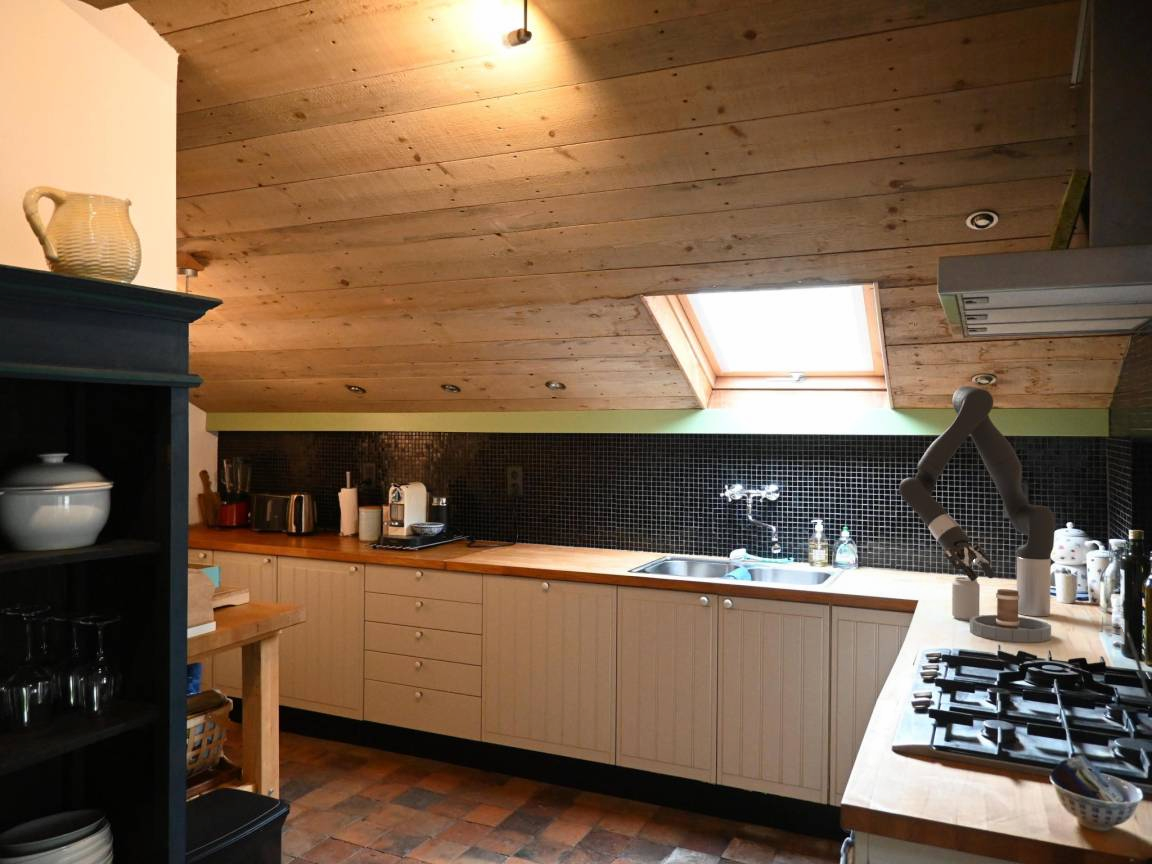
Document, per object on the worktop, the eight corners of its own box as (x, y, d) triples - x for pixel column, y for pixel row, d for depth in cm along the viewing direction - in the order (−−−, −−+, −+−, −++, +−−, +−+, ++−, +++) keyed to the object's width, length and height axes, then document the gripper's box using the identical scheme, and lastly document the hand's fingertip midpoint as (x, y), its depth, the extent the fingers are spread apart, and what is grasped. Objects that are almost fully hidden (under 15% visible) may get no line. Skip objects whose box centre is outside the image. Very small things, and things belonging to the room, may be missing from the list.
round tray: (962, 624, 259) (962, 613, 259) (1037, 628, 256) (1037, 616, 256) (979, 640, 240) (979, 628, 240) (1061, 644, 236) (1061, 632, 236)
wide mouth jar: (946, 617, 271) (946, 577, 271) (965, 615, 274) (965, 575, 274) (966, 622, 264) (966, 580, 264) (985, 620, 267) (985, 579, 267)
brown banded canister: (993, 628, 251) (993, 588, 251) (1015, 629, 250) (1016, 589, 250) (999, 632, 246) (999, 592, 246) (1021, 633, 245) (1022, 593, 245)
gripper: (941, 526, 258) (978, 572, 248) (971, 523, 265) (1008, 567, 256) (925, 543, 262) (960, 588, 253) (954, 539, 270) (990, 583, 260)
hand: (984, 578), depth 254 cm, fingers open, 8 cm apart
